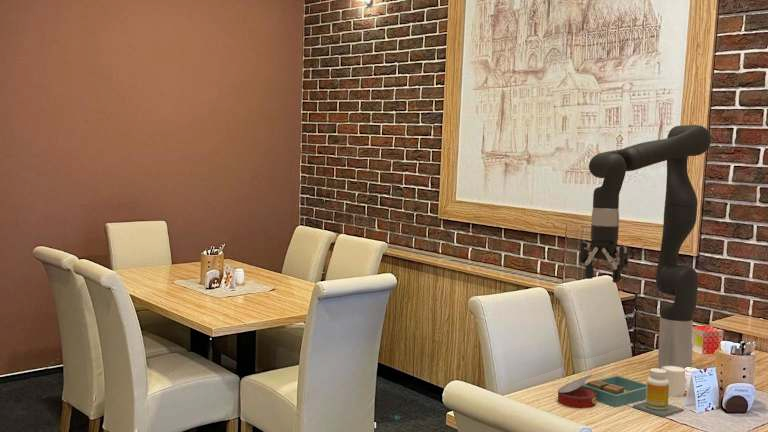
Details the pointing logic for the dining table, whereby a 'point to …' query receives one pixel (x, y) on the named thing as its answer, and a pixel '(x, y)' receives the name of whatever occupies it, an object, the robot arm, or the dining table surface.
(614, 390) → the walnut block
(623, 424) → the dining table surface
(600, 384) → the walnut block
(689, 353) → the robot arm
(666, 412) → the coaster
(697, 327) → the red patterned cube
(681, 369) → the cream cylinder
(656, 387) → the supplement bottle
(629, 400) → the teal tray
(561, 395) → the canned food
